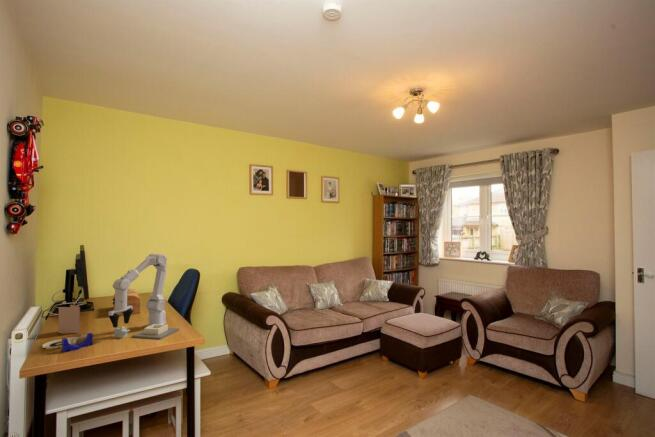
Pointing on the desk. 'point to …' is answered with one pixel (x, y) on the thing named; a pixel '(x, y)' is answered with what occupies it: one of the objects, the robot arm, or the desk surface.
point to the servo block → (120, 332)
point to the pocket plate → (155, 332)
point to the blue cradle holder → (68, 347)
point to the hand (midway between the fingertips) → (120, 325)
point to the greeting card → (69, 319)
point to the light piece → (71, 340)
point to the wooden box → (131, 301)
